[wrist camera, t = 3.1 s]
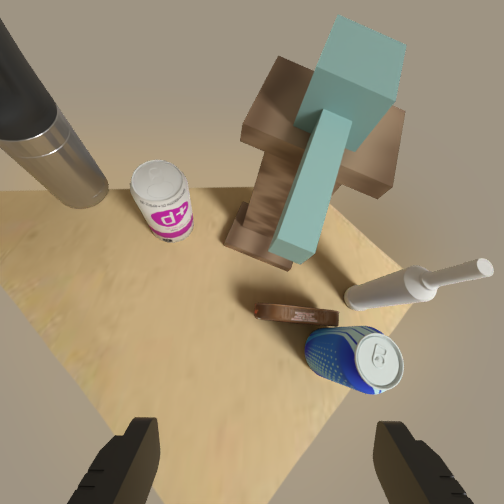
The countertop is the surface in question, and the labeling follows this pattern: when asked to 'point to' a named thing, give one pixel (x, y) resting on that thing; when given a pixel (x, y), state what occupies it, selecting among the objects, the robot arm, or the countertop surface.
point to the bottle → (412, 285)
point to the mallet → (336, 125)
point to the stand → (290, 155)
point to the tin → (296, 314)
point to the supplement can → (163, 199)
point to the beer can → (355, 358)
